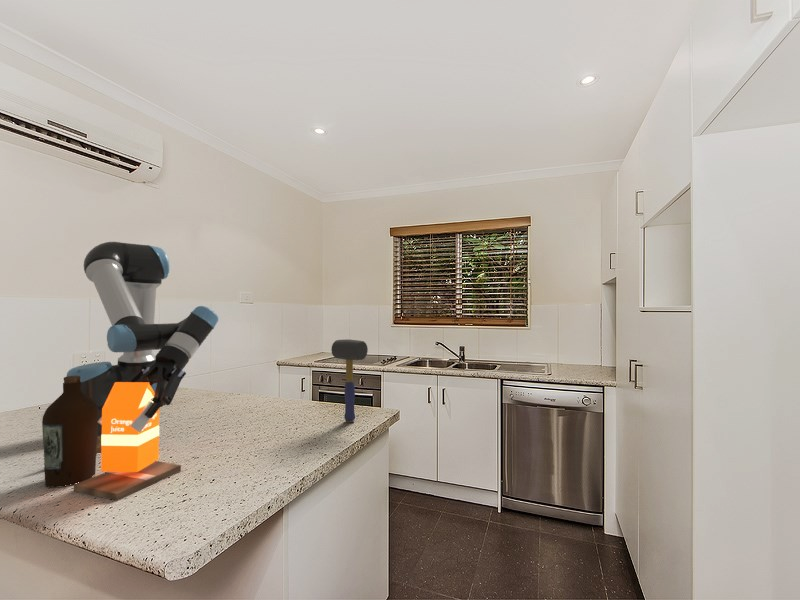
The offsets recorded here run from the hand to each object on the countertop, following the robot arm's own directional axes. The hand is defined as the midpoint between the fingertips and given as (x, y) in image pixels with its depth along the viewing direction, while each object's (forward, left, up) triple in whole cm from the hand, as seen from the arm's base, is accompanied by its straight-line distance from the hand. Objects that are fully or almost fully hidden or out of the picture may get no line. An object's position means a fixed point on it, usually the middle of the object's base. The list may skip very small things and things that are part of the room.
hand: (118, 427), depth 91 cm
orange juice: (0, +3, -10) cm, 11 cm away
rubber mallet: (+29, +63, -14) cm, 71 cm away
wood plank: (-26, +7, -14) cm, 31 cm away
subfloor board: (0, +3, -14) cm, 14 cm away
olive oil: (-15, -1, -14) cm, 21 cm away
